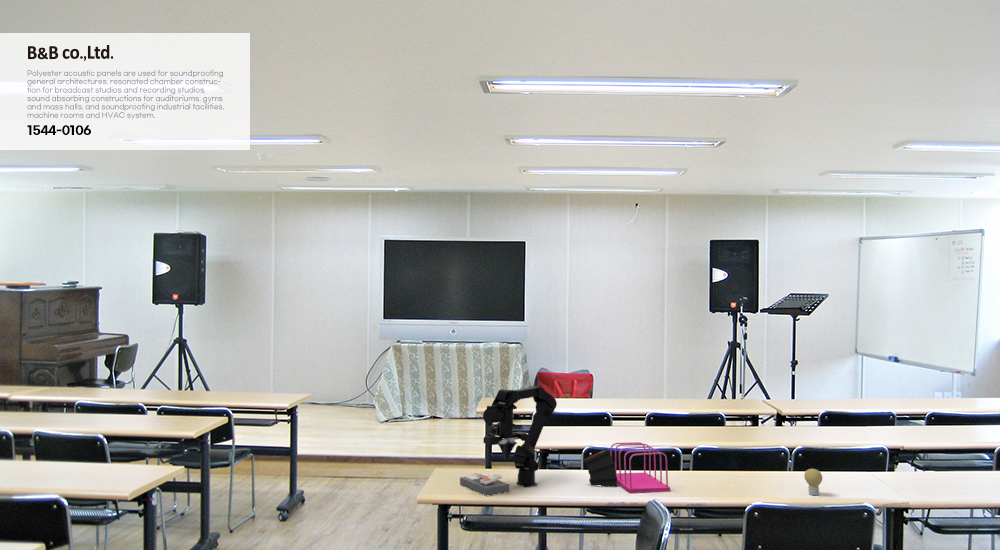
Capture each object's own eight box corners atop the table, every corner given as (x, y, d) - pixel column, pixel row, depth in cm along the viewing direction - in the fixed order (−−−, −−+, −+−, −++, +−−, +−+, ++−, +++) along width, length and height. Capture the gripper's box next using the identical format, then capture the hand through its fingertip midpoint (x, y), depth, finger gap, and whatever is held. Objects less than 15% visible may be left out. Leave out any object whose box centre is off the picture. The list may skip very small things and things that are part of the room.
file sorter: (629, 493, 247) (629, 453, 248) (608, 477, 272) (608, 441, 273) (670, 491, 250) (670, 452, 251) (646, 476, 275) (645, 440, 276)
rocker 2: (496, 476, 254) (496, 473, 254) (501, 478, 250) (501, 475, 250) (480, 482, 249) (479, 479, 249) (485, 484, 246) (485, 481, 246)
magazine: (624, 483, 256) (608, 449, 258) (595, 496, 257) (579, 462, 258) (623, 480, 260) (607, 447, 261) (595, 493, 260) (579, 460, 262)
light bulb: (802, 494, 246) (801, 468, 247) (808, 491, 251) (807, 466, 251) (819, 497, 242) (818, 471, 242) (825, 494, 246) (824, 469, 247)
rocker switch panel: (482, 481, 265) (482, 471, 265) (509, 491, 248) (509, 482, 249) (460, 484, 259) (460, 475, 259) (486, 496, 242) (486, 486, 242)
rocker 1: (487, 476, 258) (488, 474, 259) (493, 479, 255) (493, 476, 255) (471, 475, 254) (472, 472, 254) (477, 477, 251) (477, 474, 251)
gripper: (513, 416, 265) (513, 453, 264) (476, 420, 254) (475, 458, 253) (528, 419, 256) (528, 458, 255) (491, 423, 245) (490, 464, 244)
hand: (505, 459), depth 252 cm, fingers closed
